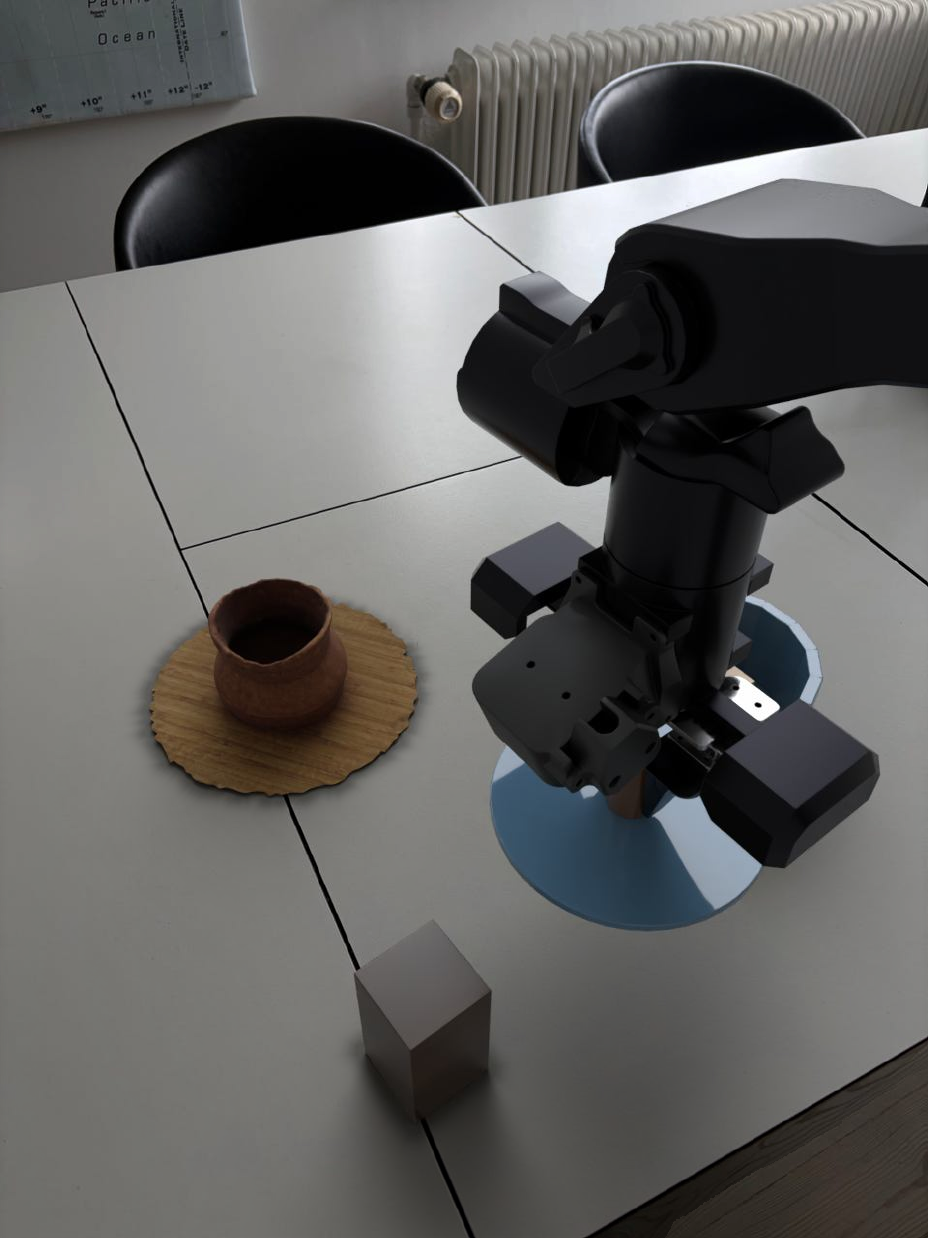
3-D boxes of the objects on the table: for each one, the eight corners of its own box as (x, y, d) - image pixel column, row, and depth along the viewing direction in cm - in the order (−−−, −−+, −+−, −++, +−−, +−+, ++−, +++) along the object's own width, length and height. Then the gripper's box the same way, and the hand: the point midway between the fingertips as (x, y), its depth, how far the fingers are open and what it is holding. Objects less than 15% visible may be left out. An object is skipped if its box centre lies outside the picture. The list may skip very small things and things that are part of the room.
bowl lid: (827, 834, 49) (855, 768, 45) (624, 998, 43) (639, 936, 39) (629, 672, 56) (640, 605, 53) (434, 791, 50) (432, 725, 47)
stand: (488, 1068, 49) (492, 990, 44) (415, 1125, 47) (410, 1051, 42) (436, 999, 52) (433, 918, 47) (364, 1051, 50) (352, 973, 45)
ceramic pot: (238, 848, 59) (218, 772, 54) (102, 679, 69) (75, 602, 64) (471, 700, 67) (472, 624, 62) (321, 569, 77) (312, 494, 72)
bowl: (837, 737, 65) (865, 667, 60) (703, 837, 59) (723, 768, 55) (693, 630, 72) (709, 560, 68) (562, 709, 67) (569, 639, 62)
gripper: (363, 499, 40) (383, 752, 50) (723, 809, 29) (651, 1047, 40) (573, 408, 45) (551, 656, 55) (947, 643, 34) (829, 894, 44)
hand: (631, 793), depth 48 cm, fingers closed on bowl lid, 2 cm apart
